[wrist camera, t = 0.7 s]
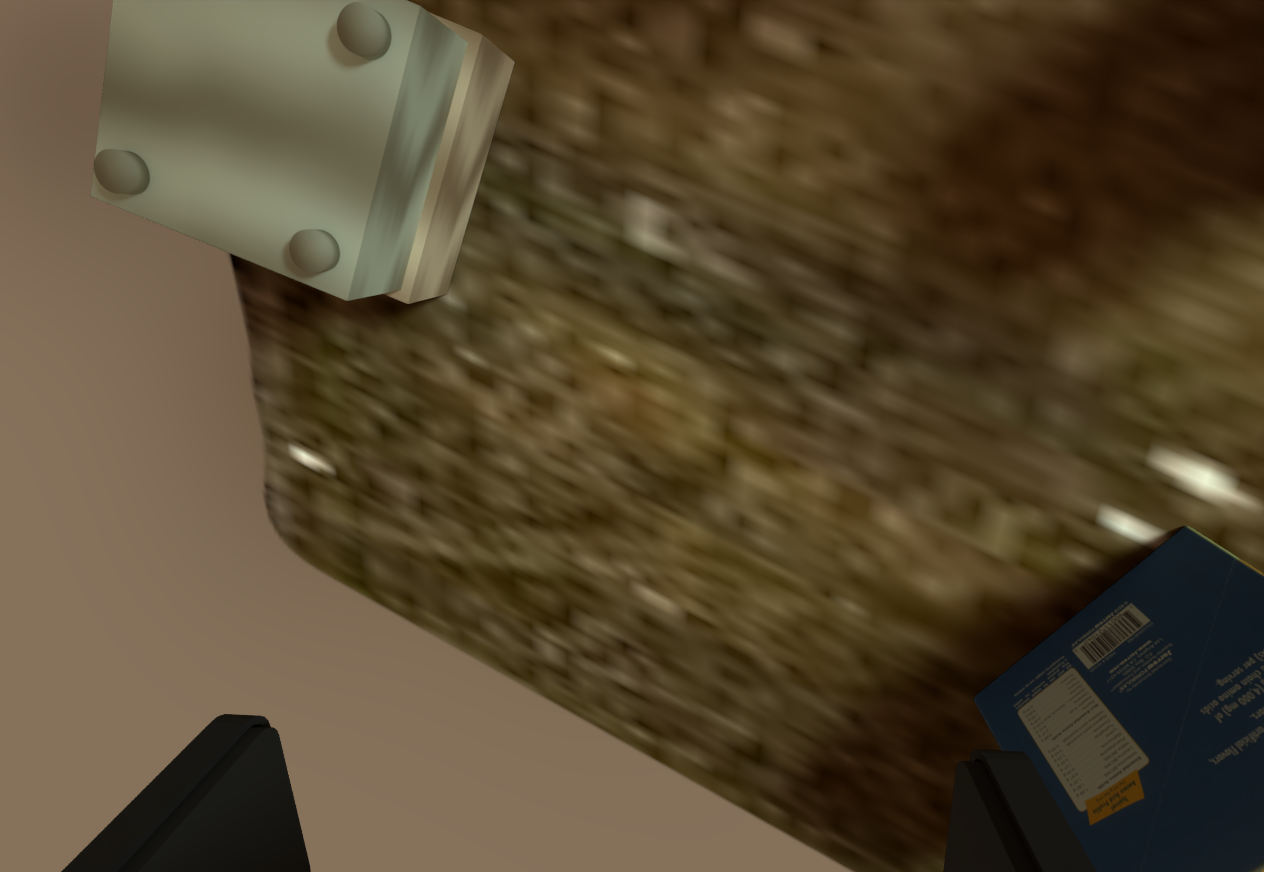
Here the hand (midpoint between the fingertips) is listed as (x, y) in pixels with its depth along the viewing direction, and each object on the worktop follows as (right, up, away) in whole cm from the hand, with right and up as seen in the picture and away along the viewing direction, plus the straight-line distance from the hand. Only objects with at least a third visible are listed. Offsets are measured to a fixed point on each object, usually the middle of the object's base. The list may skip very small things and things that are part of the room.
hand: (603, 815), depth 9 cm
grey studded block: (-13, +20, +26) cm, 35 cm away
